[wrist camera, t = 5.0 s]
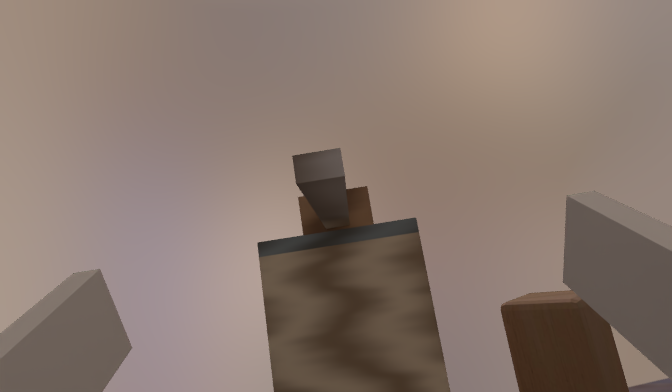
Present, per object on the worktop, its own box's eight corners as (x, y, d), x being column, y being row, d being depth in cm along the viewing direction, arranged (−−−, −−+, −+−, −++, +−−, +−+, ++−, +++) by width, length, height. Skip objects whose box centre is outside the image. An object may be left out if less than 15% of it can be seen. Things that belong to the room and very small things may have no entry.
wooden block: (561, 436, 54) (526, 292, 58) (648, 452, 47) (601, 287, 51) (533, 468, 47) (495, 303, 51) (631, 493, 40) (578, 299, 44)
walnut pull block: (253, 237, 15) (240, 120, 16) (314, 258, 39) (307, 210, 40) (402, 213, 15) (380, 97, 16) (373, 248, 39) (364, 200, 40)
